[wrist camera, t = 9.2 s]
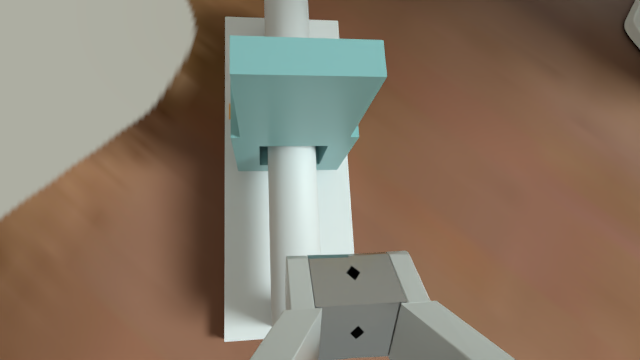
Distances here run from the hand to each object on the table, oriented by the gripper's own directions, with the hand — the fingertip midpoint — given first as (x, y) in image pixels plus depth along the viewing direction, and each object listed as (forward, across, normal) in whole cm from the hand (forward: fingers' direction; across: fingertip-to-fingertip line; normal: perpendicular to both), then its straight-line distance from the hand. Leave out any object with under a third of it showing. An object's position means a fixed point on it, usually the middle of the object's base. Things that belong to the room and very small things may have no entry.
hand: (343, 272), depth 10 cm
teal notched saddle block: (+19, 0, +6) cm, 20 cm away
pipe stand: (+20, 0, +8) cm, 21 cm away
